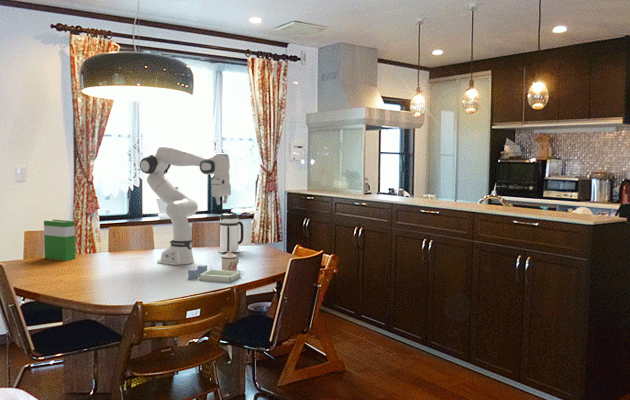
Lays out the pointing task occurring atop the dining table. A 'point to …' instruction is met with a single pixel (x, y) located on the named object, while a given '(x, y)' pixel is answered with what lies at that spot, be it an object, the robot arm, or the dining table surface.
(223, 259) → the teacup with lid
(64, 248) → the cereal box
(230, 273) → the sage tray
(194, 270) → the blue block
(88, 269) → the dining table surface
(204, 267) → the blue block
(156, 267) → the dining table surface
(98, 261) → the dining table surface
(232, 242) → the coffee press
